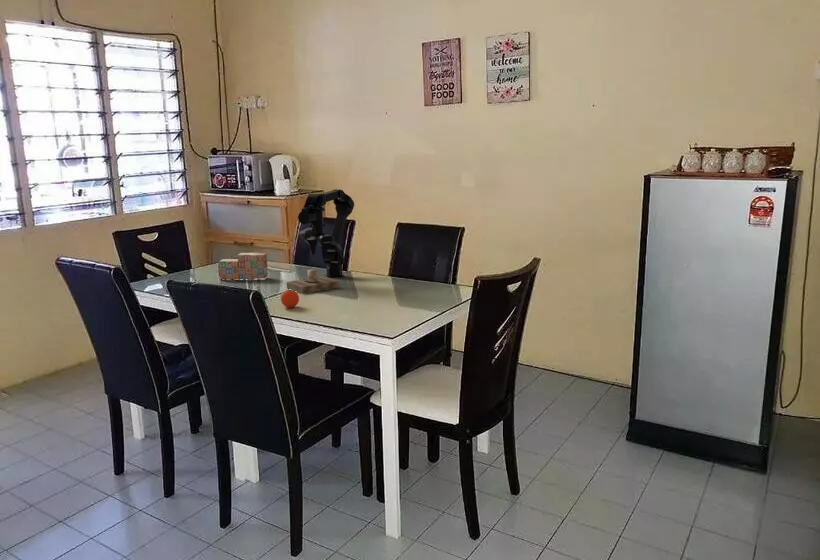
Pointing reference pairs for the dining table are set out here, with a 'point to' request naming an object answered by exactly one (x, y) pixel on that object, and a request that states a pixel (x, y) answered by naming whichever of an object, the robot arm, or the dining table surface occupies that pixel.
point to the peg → (312, 276)
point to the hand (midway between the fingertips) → (318, 256)
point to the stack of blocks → (244, 266)
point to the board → (313, 285)
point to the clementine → (290, 298)
